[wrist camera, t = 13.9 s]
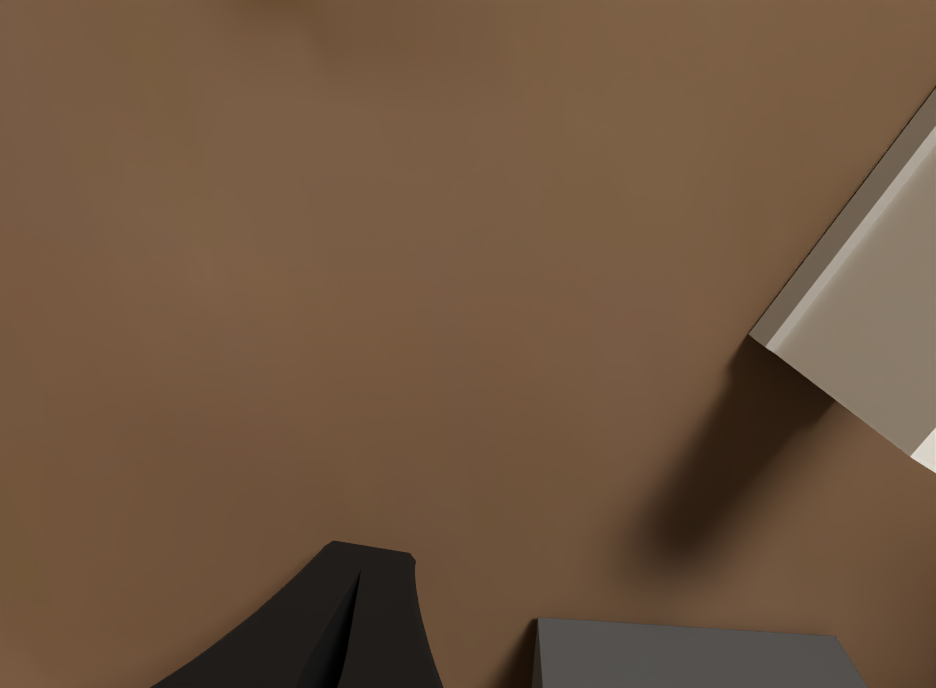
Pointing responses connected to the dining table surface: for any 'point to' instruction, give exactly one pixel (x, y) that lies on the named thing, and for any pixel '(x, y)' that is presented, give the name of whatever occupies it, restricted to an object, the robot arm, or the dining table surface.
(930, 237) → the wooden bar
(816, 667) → the gray rectangular block
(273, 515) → the dining table surface
